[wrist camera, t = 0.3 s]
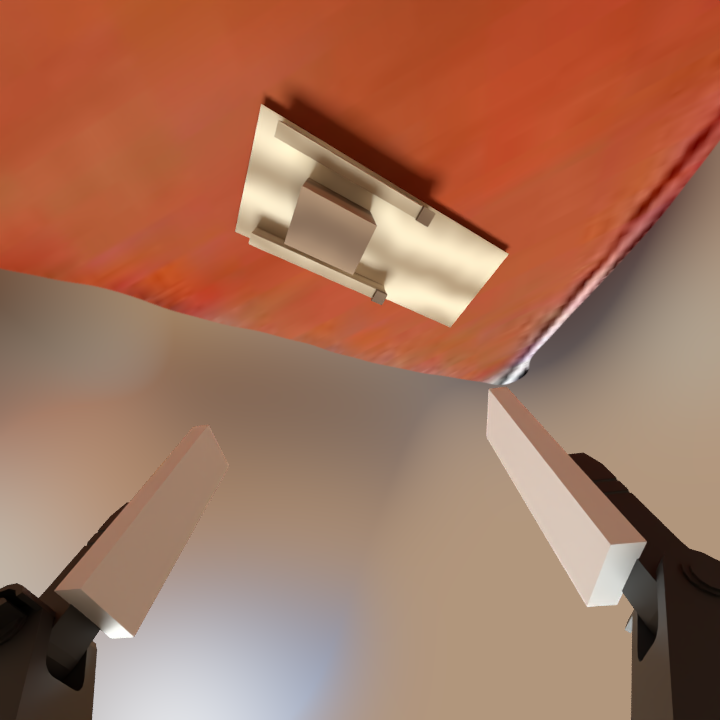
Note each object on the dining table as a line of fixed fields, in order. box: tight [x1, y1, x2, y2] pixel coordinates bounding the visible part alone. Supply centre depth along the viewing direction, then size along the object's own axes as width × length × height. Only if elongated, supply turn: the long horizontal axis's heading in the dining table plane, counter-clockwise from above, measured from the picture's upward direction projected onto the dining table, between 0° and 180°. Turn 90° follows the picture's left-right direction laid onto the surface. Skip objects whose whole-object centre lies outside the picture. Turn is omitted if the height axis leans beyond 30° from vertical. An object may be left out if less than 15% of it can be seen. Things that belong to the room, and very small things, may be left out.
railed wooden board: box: [235, 104, 508, 327], centre depth 31 cm, size 12×30×4 cm, turn 64°
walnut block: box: [284, 178, 377, 275], centre depth 27 cm, size 5×7×6 cm
